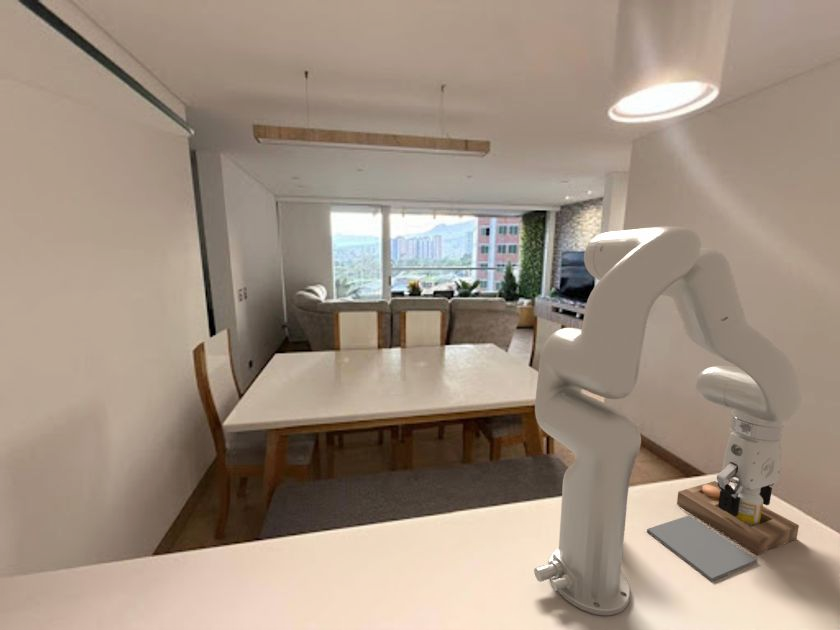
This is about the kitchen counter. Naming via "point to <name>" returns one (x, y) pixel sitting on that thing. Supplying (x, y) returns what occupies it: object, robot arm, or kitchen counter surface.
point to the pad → (701, 547)
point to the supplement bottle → (749, 506)
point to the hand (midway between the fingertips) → (743, 506)
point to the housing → (739, 522)
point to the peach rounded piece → (711, 492)
